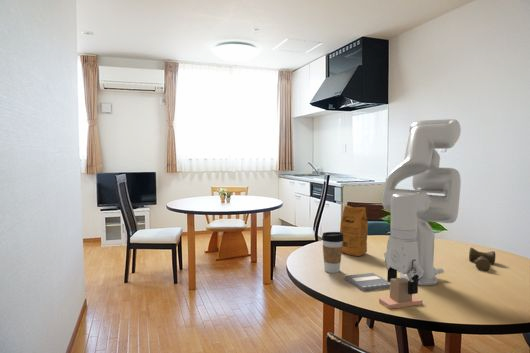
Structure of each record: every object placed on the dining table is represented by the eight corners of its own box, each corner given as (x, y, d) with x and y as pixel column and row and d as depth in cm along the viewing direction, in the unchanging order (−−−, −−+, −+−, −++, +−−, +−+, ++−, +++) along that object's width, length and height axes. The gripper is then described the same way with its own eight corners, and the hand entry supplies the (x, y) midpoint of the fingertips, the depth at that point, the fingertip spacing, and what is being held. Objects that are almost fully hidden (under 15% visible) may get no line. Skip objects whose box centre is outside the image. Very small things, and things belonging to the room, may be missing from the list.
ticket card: (372, 275, 134) (373, 272, 134) (392, 287, 122) (393, 283, 122) (344, 278, 130) (344, 275, 130) (362, 291, 119) (362, 287, 119)
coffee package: (347, 248, 173) (348, 203, 172) (370, 253, 164) (371, 206, 162) (335, 252, 166) (336, 205, 165) (358, 257, 157) (359, 208, 156)
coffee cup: (343, 274, 135) (343, 235, 134) (320, 272, 137) (321, 234, 136) (342, 267, 143) (343, 231, 142) (321, 266, 145) (322, 230, 144)
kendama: (468, 270, 143) (468, 256, 160) (496, 275, 138) (493, 260, 156) (469, 255, 143) (469, 243, 160) (498, 260, 138) (495, 247, 155)
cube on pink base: (411, 297, 113) (412, 275, 113) (422, 304, 109) (423, 281, 108) (379, 301, 110) (379, 279, 109) (389, 308, 105) (389, 285, 105)
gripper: (376, 228, 115) (375, 278, 117) (412, 242, 99) (410, 300, 100) (395, 226, 117) (394, 275, 119) (434, 239, 101) (432, 297, 103)
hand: (401, 287), depth 110 cm, fingers open, 9 cm apart
